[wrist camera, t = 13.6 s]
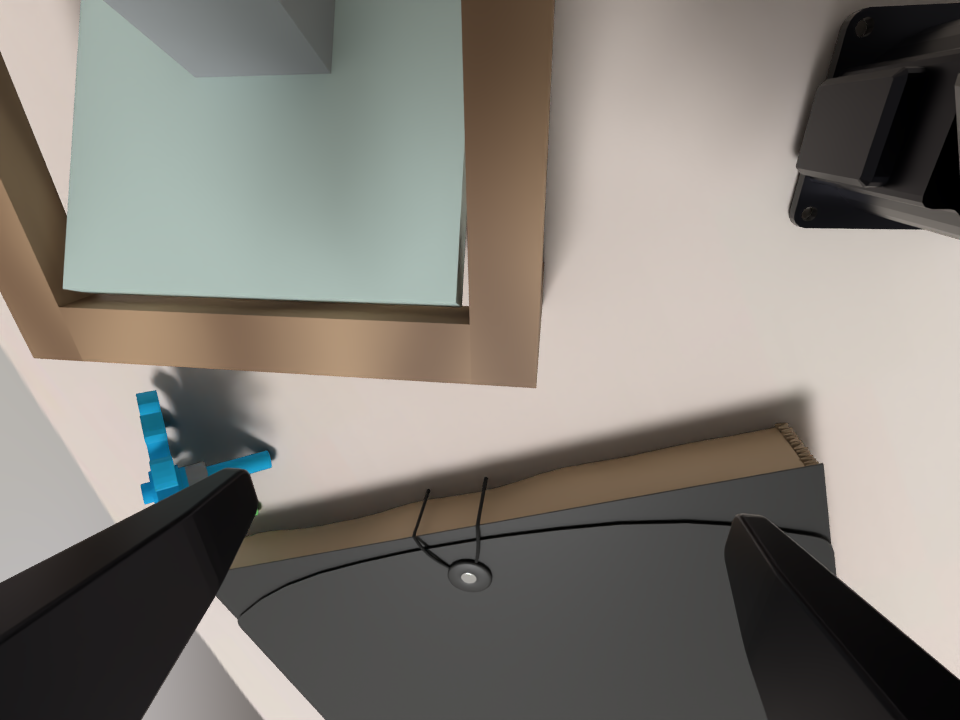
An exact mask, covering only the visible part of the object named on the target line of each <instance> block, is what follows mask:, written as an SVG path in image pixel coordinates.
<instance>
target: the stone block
mask: <svg viewBox="0 0 960 720" xmlns="http://www.w3.org/2000/svg"><path fill="white" fill-rule="evenodd" d="M103 1H104V2H106V3H107V4H108V5H109V6H110V7H112V8H113V9H114V10H115V11H116V12H118V13H119V14H120V15H121V16H122V17H124V18H125V19H126V20H127V21H128V22H130V23H131V24H132V25H133V26H134V27H136V28H137V29H138V30H139V31H140V32H142V33H143V34H144V35H145V36H146V37H147V38H149V39H150V40H151V41H152V42H153V43H155V44H156V45H157V46H158V47H159V48H161V49H162V50H163V51H164V52H165V53H167V54H168V55H169V56H170V57H171V58H173V59H174V60H175V61H176V62H177V63H179V64H180V65H181V66H182V67H183V68H185V69H186V70H187V71H188V72H189V73H191V74H192V75H193V76H194V77H195V78H200V77H232V76H265V75H298V74H331V67H332V50H333V33H334V17H335V0H103Z"/></svg>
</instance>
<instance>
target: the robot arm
mask: <svg viewBox="0 0 960 720" xmlns="http://www.w3.org/2000/svg"><path fill="white" fill-rule="evenodd" d="M860 20H864V21H865V22H866V24H867V29H866V31H865V33H864V35H862V36H861V37H858V36H857V35H856V33H855V28H856V26H857V24H858V22H859V21H860ZM796 168H797V169H798V171H799V172H800V176H799V179H798V183H797V187H796V190H795V194H794V197H793V201H792V205H791V208H790V212H789V218H790V220H791V222H792V223H793V224H795V225H797V226H799V227H803V228H844V229H924V230H928V231H932V232H935V233H938V234H942V235H945V236H949V237H952V238H956V239H959V240H960V3H949V4H927V5H906V6H884V7H869V8H865V9H862V10H859V11H856V12H855V13H853V14H852V15H850V16H849V17H848V18H847V19H846V20H845V21H844V23H843V24H842V27H841V29H840V31H839V35H838V39H837V42H836V46H835V50H834V53H833V57H832V60H831V64H830V68H829V71H828V75H827V78H826V80H825V81H824V82H823V83H822V84H821V85H820V86H819V87H818V88H817V90H816V94H815V98H814V101H813V105H812V109H811V112H810V116H809V120H808V123H807V127H806V131H805V134H804V138H803V142H802V145H801V149H800V153H799V156H798V160H797V164H796ZM807 207H811V208H812V213H811V215H810V216H809V217H807V218H805V219H802V212H803V211H804V209H806V208H807ZM257 509H258V498H257V495H256V492H255V489H254V485H253V482H252V479H251V476H250V473H249V472H248V471H247V470H245V469H239V468H224V469H222V470H220V471H218V472H216V473H214V474H212V475H210V476H208V477H206V478H204V479H202V480H200V481H198V482H196V483H194V484H192V485H191V486H189V487H187V488H185V489H183V490H181V491H179V492H177V493H175V494H173V495H171V496H169V497H167V498H165V499H163V500H161V501H159V502H157V503H155V504H153V505H151V506H150V507H148V508H146V509H144V510H142V511H140V512H138V513H136V514H134V515H132V516H130V517H128V518H126V519H124V520H122V521H120V522H118V523H116V524H114V525H112V526H110V527H109V528H107V529H105V530H103V531H101V532H99V533H97V534H95V535H93V536H91V537H89V538H87V539H85V540H83V541H81V542H79V543H77V544H75V545H73V546H71V547H69V548H68V549H65V550H64V551H62V552H60V553H58V554H56V555H54V556H52V557H50V558H48V559H46V560H44V561H42V562H40V563H38V564H36V565H34V566H32V567H30V568H29V569H26V570H25V571H23V572H21V573H19V574H17V575H15V576H13V577H11V578H9V579H7V580H5V581H3V582H1V583H0V720H142V718H143V716H144V715H145V713H146V711H147V710H148V708H149V706H150V705H151V703H152V701H153V700H154V698H155V696H156V695H157V693H158V691H159V690H160V688H161V686H162V685H163V683H164V681H165V680H166V678H167V676H168V675H169V673H170V671H171V670H172V668H173V666H174V665H175V663H176V661H177V660H178V658H179V656H180V655H181V653H182V651H183V649H184V648H185V646H186V644H187V643H188V641H189V639H190V638H191V636H192V634H193V633H194V631H195V629H196V628H197V626H198V624H199V623H200V621H201V619H202V618H203V616H204V614H205V613H206V611H207V609H208V608H209V606H210V604H211V603H212V601H213V599H214V598H215V596H216V594H217V592H218V590H219V589H220V587H221V585H222V583H223V581H224V579H225V577H226V575H227V573H228V571H229V569H230V567H231V565H232V563H233V561H234V559H235V557H236V554H237V552H238V550H239V548H240V546H241V544H242V542H243V540H244V538H245V536H246V534H247V531H248V529H249V527H250V525H251V523H252V521H253V519H254V517H255V515H256V512H257ZM724 559H725V565H726V569H727V573H728V578H729V582H730V587H731V591H732V596H733V600H734V605H735V609H736V614H737V618H738V623H739V627H740V632H741V636H742V640H743V644H744V648H745V652H746V656H747V659H748V662H749V665H750V669H751V672H752V675H753V678H754V681H755V684H756V687H757V690H758V693H759V696H760V699H761V701H762V704H763V707H764V710H765V713H766V716H767V719H768V720H960V679H958V678H957V677H956V676H955V675H954V674H953V673H951V672H950V671H949V670H948V669H947V668H945V667H944V666H943V665H942V664H941V663H939V662H938V661H937V660H936V659H935V658H933V657H932V656H931V655H930V654H929V653H927V652H926V651H925V650H924V649H923V648H921V647H920V646H919V645H918V644H917V643H915V642H914V641H913V640H912V639H911V638H909V637H908V636H907V635H906V634H905V633H903V632H902V631H901V630H900V629H899V628H898V627H896V626H895V625H894V624H893V623H892V622H890V621H889V620H888V619H887V618H886V617H884V616H883V615H882V614H881V613H880V612H878V611H877V610H876V609H875V608H874V607H872V606H871V605H870V604H869V603H868V602H866V601H865V600H864V599H863V598H862V597H860V596H859V595H858V594H857V593H856V592H854V591H853V590H852V589H851V588H850V587H848V586H847V585H846V584H845V583H844V582H843V581H841V580H840V579H839V578H838V577H837V576H835V575H834V574H833V573H832V572H831V571H829V570H828V569H827V568H826V567H825V566H823V565H822V564H821V563H820V562H819V561H817V560H816V559H815V558H814V557H813V556H811V555H810V554H809V553H808V552H807V551H805V550H804V549H803V548H802V547H801V546H799V545H798V544H797V543H796V542H795V541H793V540H792V539H791V538H790V537H789V536H788V535H786V534H785V533H784V532H783V531H782V530H780V529H779V528H778V527H777V526H776V525H774V524H773V523H772V522H771V521H770V520H768V519H767V518H766V517H764V516H761V515H754V514H743V513H740V514H737V515H736V516H735V517H734V519H733V522H732V525H731V528H730V531H729V534H728V537H727V541H726V544H725V548H724Z"/></svg>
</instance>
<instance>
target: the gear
mask: <svg viewBox="0 0 960 720" xmlns="http://www.w3.org/2000/svg"><path fill="white" fill-rule="evenodd" d="M136 397H137V402H138V407H139V411H140V420H141V425H142V429H143V434H144V439H145V443H146V444H147V448H148V453H149V458H150V462H149V464H150V469H151V471H150V472H148V473H149V479H150V482H148V483H144V484H141V490H142V495H143V500H144V503H145V504H148V503H152V502H155V503H157V502H159V501H161V500H163V499H165V498H167V497H169V496H171V495H173V494H175V493H177V492H179V491H181V490H183V489H185V488H187V487H189V486H191V485H192V484H194V483H196V482H198V481H200V480H202V479H204V478H206V477H208V476H210V475H212V474H214V473H216V472H218V471H220V470H222V469H224V468H239V469H245V470H247V471H248V472H249V473H250V474H251V473H254V472H258V471H261V470H265V469H268V468H271V467H272V463H271V458H270V455H269V452H268V451H267V450H266V451H262V452H259V453H255V454H251V455H248V456H244V457H240V458H237V459H233V460H229V461H225V462H222V463H218V464H214V465H211V466H207V467H206V465H205V462H204V461H203V462H200V463H196V464H192V465H188V466H184V467H181V468H178V466H177V465H174V463H173V459H172V456H171V454H170V450H169V445H168V440H167V439H168V438H167V433H166V429H165V424H164V420H163V416H162V412H161V409H160V404H159V400H158V396H157V392H156V390H155V391H149V392H144V393H138V394H136ZM256 515H258V509H257V512H256ZM256 515H255V516H256Z"/></svg>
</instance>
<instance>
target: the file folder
mask: <svg viewBox="0 0 960 720" xmlns="http://www.w3.org/2000/svg"><path fill="white" fill-rule="evenodd" d="M487 480H488V478H487V477H485V478H484V482H483V488H482V491H480V492H475V493H469V494H463V495H457V496H450V497H443V498H436V499H429V500H427V499H428V496H429V493H430V489H428V490H427V492H426V495H425V498H424V501H419V502H415V503H410V504H406V505H403V506H400V507H397V508H393V509H390V510H387V511H384V512H381V513H377V514H373V515H370V516H366V517H362V518H358V519H353V520H347V521H342V522H337V523H331V524H327V525H323V526H317V527H311V528H304V529H292V530H276V531H267V532H262V533H258V534H254V535H251V536H247V537H245V538H244V540H243V542H242V544H241V546H240V548H239V550H238V552H237V554H236V557H235V559H234V561H233V563H232V565H231V567H230V569H229V571H228V573H227V575H226V577H225V579H224V581H223V583H222V585H221V587H220V589H219V590H218V592H217V594H216V597H217V598H218V599H219V600H220V601H221V602H222V603H223V604H224V605H225V606H226V607H227V608H228V610H229V611H230V612H231V613H232V614H233V615H234V616H235V617H236V618H237V619H238V624H239V626H240V627H241V629H242V630H243V631H244V632H245V633H246V634H247V635H248V636H249V637H250V638H251V640H252V641H253V642H254V643H255V644H256V645H257V646H258V647H259V648H260V649H261V650H262V651H263V653H264V654H265V655H266V656H267V657H268V658H269V659H270V660H271V661H272V662H273V663H274V664H275V666H276V667H277V668H278V669H279V670H280V671H281V672H282V673H283V674H284V675H285V676H286V678H287V679H288V680H289V681H290V682H291V683H292V684H293V685H294V686H295V687H296V688H297V689H298V691H299V692H300V693H301V694H302V695H303V696H304V697H305V698H306V699H307V700H308V701H309V702H310V704H311V705H312V706H313V707H314V708H315V709H316V710H317V711H318V712H319V713H320V714H321V715H322V717H323V718H324V719H325V720H768V719H767V716H766V713H765V710H764V707H763V704H762V701H761V699H760V696H759V693H758V690H757V687H756V684H755V681H754V678H753V675H752V672H751V669H750V665H749V662H748V659H747V656H746V652H745V648H744V644H743V640H742V636H741V632H740V627H739V623H738V618H737V614H736V609H735V605H734V600H733V596H732V591H731V587H730V582H729V578H728V573H727V569H726V565H725V559H724V548H725V544H726V541H727V537H728V534H729V531H730V528H731V525H732V522H733V519H734V517H735V516H736V515H737V514H740V513H743V514H754V515H761V516H764V517H766V518H767V519H768V520H770V521H771V522H772V523H773V524H774V525H776V526H777V527H778V528H779V529H780V530H782V531H783V532H784V533H785V534H786V535H788V536H789V537H790V538H791V539H792V540H793V541H795V542H796V543H797V544H798V545H799V546H801V547H802V548H803V549H804V550H805V551H807V552H808V553H809V554H810V555H811V556H813V557H814V558H815V559H816V560H817V561H819V562H820V563H821V564H822V565H823V566H825V567H826V568H827V569H828V570H829V571H831V572H832V573H833V574H834V575H835V576H836V568H835V558H834V551H833V548H832V545H831V538H830V528H829V517H828V507H827V496H826V486H825V475H824V465H823V463H821V464H819V462H816V459H815V458H813V455H810V451H808V447H804V444H803V443H802V441H801V440H799V438H798V437H797V435H796V434H795V432H793V430H792V428H791V427H789V426H788V423H780V424H778V423H776V424H775V428H770V429H765V430H760V431H754V432H749V433H744V434H738V435H733V436H727V437H722V438H716V439H710V440H704V441H699V442H693V443H688V444H683V445H678V446H673V447H669V448H664V449H660V450H655V451H651V452H646V453H642V454H637V455H633V456H628V457H623V458H617V459H611V460H605V461H599V462H593V463H587V464H582V465H577V466H570V467H564V468H560V469H557V470H554V471H550V472H546V473H542V474H538V475H536V476H533V477H530V478H527V479H524V480H521V481H518V482H514V483H511V484H508V485H505V486H501V487H498V488H493V489H489V490H486V485H487Z"/></svg>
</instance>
